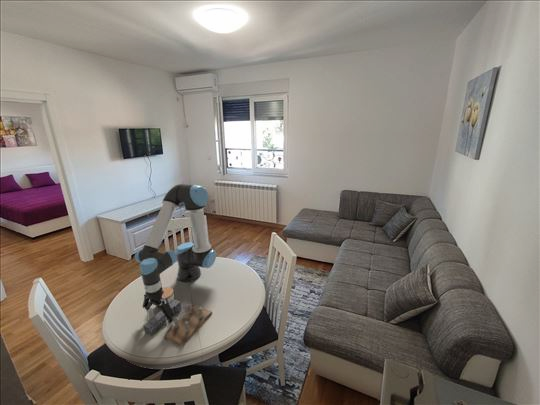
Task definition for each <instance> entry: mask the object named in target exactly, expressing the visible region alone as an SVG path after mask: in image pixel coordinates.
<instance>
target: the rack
mask: <svg viewBox="0 0 540 405" xmlns="http://www.w3.org/2000/svg"><path fill="white" fill-rule="evenodd" d="M187 308H188V313H186V314H185V316H183V317H182V318H181V319H180V320H178V317H177V316H173V317H172V321H173V324H174V325H173V326H172V327H171V328H170V329H169V330H168V332H166V333H165V335H164V339H166V340H168V341H171V342H173V343H175V344H177V345H179V346H181V347H184V345H185V344H186V342H187V341H188V340H189V339H190V338H191V337H192V336H193V335H194V334H196V332H197V331H198V329H199V328H200V327H201V326H202V325H203V324H204V323H205V322H206V321H207V320H208V319H209V317H211V315H212V314H213V311H211V310H210V309H208V308H204V307H202V306H199V305H195V306H192V303H188V304H187Z"/></svg>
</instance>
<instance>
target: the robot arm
mask: <svg viewBox="0 0 540 405" xmlns="http://www.w3.org/2000/svg"><path fill="white" fill-rule="evenodd" d="M208 200H209V194H208V190H207V188H205V186H202V185H198V184H184V183H179V184H176V185H174V186H172V187H171V188H170V189H169V190H168V191H167V193H166V194H165V195H164V197H163V199H162V201H161V202H162V206H161V208H160V210H159V212H158V215H157V217H156V219H155V221H154V223H153V225H152V227H151V230H150V232H149V234H148V236H147V238H146V240H145V244H144V245H143V247H142V248H140V249H138V250H136V252H135V254H134V260H135V261H136V262H137V263H139V270H140V276H141V278H142V283H143V287H144V291H145V294H144V295H143V298H144V299H143V303H142V308H143V309H145V310H146V313H147V317H148V321H149V320H150V319H152V318H153V317H154V316H155V315H154V314H155V313H154V309H153V307H152V305H154V306H156V307H157V309H160V311H162V312H163V313H164V315H165V316H166V323H165V324H166V327H167V329H168V330H171V329H172V328H173V327H174V325H173V324H174V322H173V318H174V317H176V316H175V315H176V314H174V313H173V311H172V309H171V307H170V305H169V303H168V300H167V299H165V300H164V299H163V298H162V294H163V290H162V288H163V287H162V285H163V284H162V281H161V276H160V274H162V273H163V272H164V271H166V270H167V269H169V268H170V267H172V266H173V265H175V263H177V265H178V266H177V267H178V269H177V280H178V281H179V282H182V283H190V282H194V281H195V280H197V279H199V277H200V276H201V274H202V271H201V268H204V269H209V268H211V267H212V266H213V265H214V264H215V261H216V259H217V251H216V250H215V249H212V244H211V243H209V239H208V234H207V233H208V232H207V226H206V225H207V224H206V219H205V211H204V209H205V208H206V205H207V203H208ZM180 205H183V206H184V210H186V211H187V212H188V217H189V223H190V228H191V234H192V240H193V242H190V241H188V242H184V243H181V244H179V245H178V246H176V249H175V251H174V250H170V249H169V250H167V251H165V252H161V251H159V248H160V247H161V244H162V242H163V240H164V237H165V236H166V233H167V231H168V228H169V226H170V225H171V222H172V219H173V217H174V214H175V212H176V210H177V209H179V207H180ZM161 303H162V305H160V304H161ZM159 305H160V306H159Z"/></svg>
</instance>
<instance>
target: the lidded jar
mask: <svg viewBox="0 0 540 405" xmlns="http://www.w3.org/2000/svg"><path fill="white" fill-rule="evenodd" d="M162 290H163V294H162V298H163V299H164V300H165V299H167V300H168V303H170V302H171V301H172V300H173V299H175V298H174V297H175V294H174V289H173V288H172V287H169V286H167V287H166V286H165V287H162ZM160 305H162V303H161V304H160ZM160 305H159V306H160Z"/></svg>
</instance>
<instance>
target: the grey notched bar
mask: <svg viewBox="0 0 540 405" xmlns="http://www.w3.org/2000/svg"><path fill="white" fill-rule="evenodd" d="M169 305H170V307H171V309H172V311H173V313H174V314H175V315H177V314H178V313H179V312H180V311H181V310H182V302H181V301H180V300H178V299H175V298H174V299H173V300H172V301H171V302H170V303H169ZM165 324H167V323H166V316H165V315H164V313H163V312H162V311H161V310H160V311H159V312H158V313H156V314H155V315H154V317H153V318H152V319H150V320H149V319H148V321H147V322H146V323H144V324H143V325H142V327H143V330H144V334H146V335H147V336H150V337H152V335H153V334H155V333H156V332H157V331H158V330H159V329H160V328H161V327H162V326H164V325H165Z"/></svg>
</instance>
